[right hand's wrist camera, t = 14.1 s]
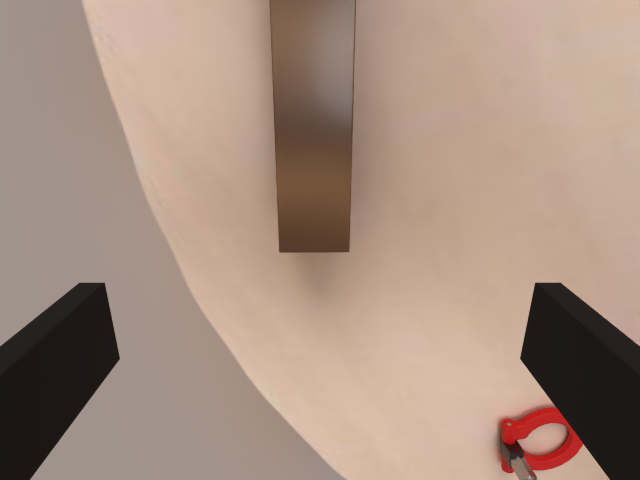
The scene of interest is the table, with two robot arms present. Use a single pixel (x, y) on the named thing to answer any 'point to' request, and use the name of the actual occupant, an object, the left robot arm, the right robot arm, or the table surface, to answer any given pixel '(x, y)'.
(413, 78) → the table surface
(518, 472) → the tow hook
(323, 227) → the bar
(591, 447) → the right robot arm
